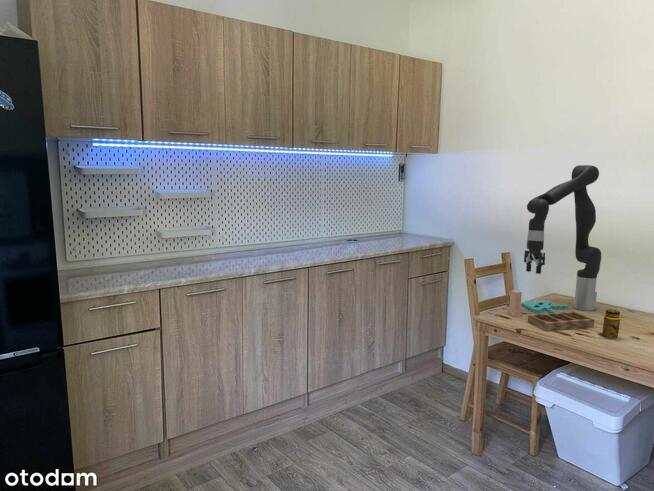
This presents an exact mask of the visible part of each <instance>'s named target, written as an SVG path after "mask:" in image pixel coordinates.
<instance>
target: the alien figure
mask: <svg viewBox="0 0 654 491" xmlns="http://www.w3.org/2000/svg"><path fill="white" fill-rule="evenodd" d="M551 304H552V302H551V301H546V300H541V301H540V300H535V301H534V300H530V301H526V300H525V301H523V302H521V308H524V309H525V308H526V310H527V311H529V310H530V313H533V312H534V313H533V314H538V313H539V314H542V313H543V312H546V314H547V313H559V312H557V310H569V307H570V305H568V304H563V305H562V304H552V305H551Z"/></svg>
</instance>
